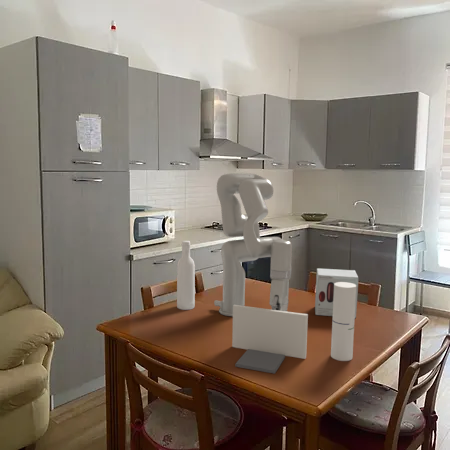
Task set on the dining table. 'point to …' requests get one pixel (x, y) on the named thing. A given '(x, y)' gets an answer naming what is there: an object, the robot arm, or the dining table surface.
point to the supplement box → (331, 288)
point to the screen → (270, 331)
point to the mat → (260, 361)
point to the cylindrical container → (343, 321)
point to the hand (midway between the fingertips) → (279, 319)
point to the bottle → (185, 279)
